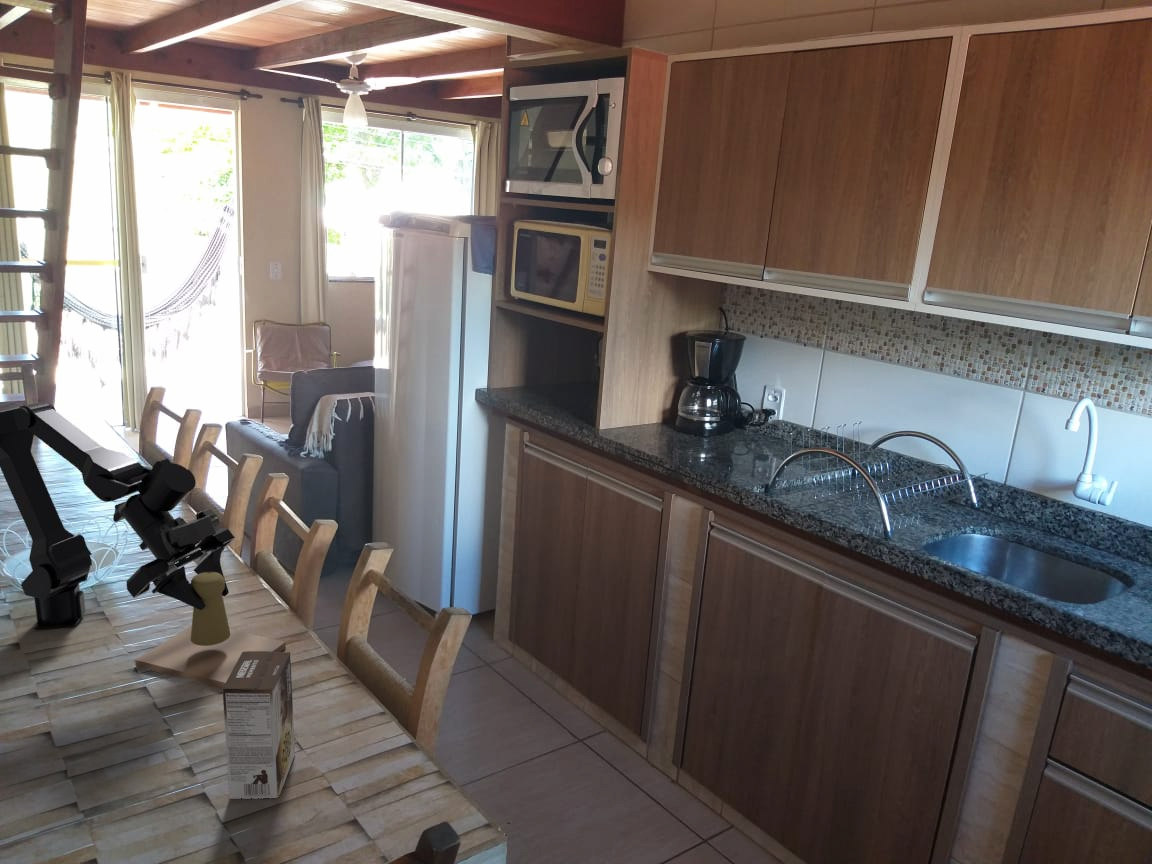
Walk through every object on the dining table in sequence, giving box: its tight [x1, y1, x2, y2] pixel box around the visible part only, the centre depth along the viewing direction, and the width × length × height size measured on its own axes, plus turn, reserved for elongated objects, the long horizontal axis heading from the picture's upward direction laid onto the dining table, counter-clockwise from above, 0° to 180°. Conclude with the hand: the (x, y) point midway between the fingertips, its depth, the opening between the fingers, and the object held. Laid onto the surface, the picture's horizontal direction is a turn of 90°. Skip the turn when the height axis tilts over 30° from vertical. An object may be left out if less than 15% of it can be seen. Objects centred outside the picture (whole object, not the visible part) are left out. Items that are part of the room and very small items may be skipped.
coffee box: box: [221, 651, 296, 800], centre depth 109 cm, size 9×6×16 cm
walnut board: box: [135, 625, 287, 690], centre depth 138 cm, size 18×14×1 cm
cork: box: [189, 572, 231, 646], centre depth 136 cm, size 6×6×11 cm
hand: (215, 601), depth 135 cm, fingers closed on cork, 5 cm apart
